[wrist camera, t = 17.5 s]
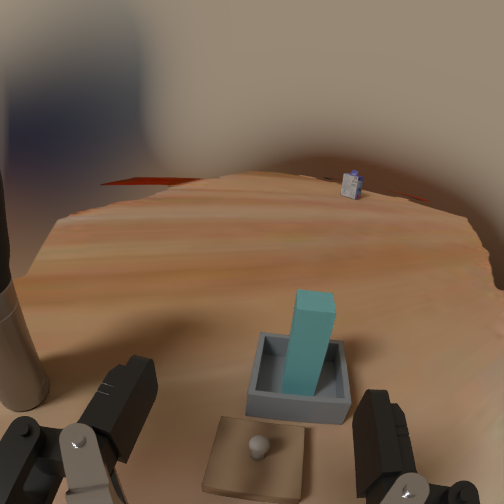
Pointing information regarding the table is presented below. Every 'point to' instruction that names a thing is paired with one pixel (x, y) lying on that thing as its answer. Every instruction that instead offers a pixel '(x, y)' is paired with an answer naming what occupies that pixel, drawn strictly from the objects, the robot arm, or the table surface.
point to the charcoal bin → (296, 406)
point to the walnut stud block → (256, 461)
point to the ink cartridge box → (352, 185)
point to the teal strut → (308, 341)
